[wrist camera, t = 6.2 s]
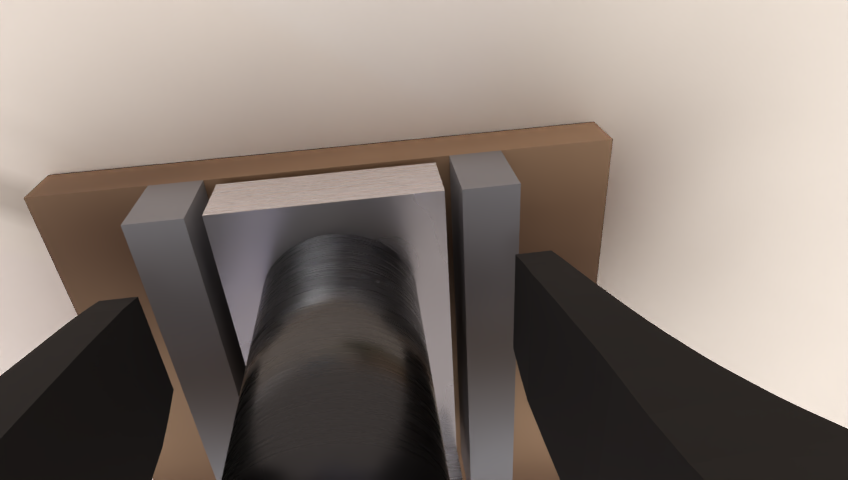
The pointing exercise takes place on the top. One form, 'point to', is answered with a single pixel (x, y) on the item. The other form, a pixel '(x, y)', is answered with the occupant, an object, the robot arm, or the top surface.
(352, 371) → the ram
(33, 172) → the top surface
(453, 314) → the bench
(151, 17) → the top surface
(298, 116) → the top surface
